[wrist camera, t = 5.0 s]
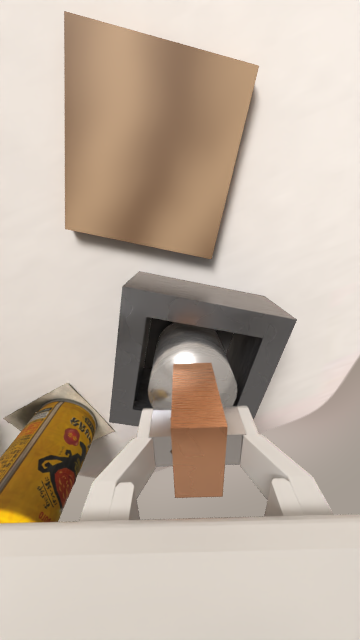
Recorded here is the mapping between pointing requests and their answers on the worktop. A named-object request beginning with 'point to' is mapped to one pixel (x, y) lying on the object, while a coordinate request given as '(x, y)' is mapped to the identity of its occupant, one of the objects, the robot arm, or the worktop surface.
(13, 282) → the worktop surface
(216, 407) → the plug
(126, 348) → the housing
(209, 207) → the board
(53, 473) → the condiment
